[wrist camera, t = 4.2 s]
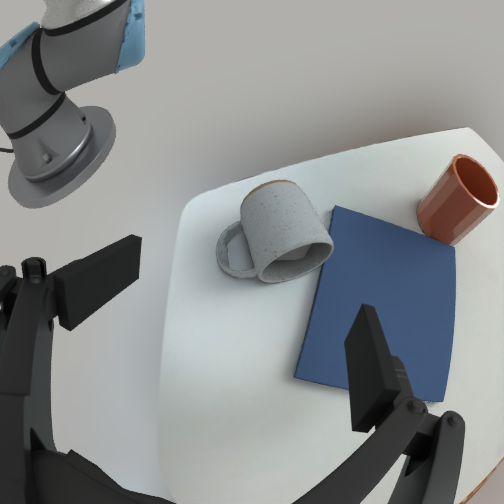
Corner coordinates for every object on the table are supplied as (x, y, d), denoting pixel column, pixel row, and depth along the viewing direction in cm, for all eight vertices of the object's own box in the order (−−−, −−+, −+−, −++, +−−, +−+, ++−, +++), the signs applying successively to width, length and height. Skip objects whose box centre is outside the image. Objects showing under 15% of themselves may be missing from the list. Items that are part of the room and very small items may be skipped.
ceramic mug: (295, 208, 34) (305, 164, 27) (324, 268, 30) (345, 235, 23) (209, 233, 32) (198, 192, 25) (230, 300, 29) (223, 273, 22)
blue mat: (293, 377, 26) (295, 377, 25) (333, 209, 34) (335, 205, 33) (438, 401, 24) (443, 401, 23) (451, 250, 32) (454, 247, 31)
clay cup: (417, 237, 33) (458, 193, 24) (415, 191, 36) (447, 145, 27) (461, 254, 32) (504, 217, 23) (456, 209, 35) (492, 169, 26)
